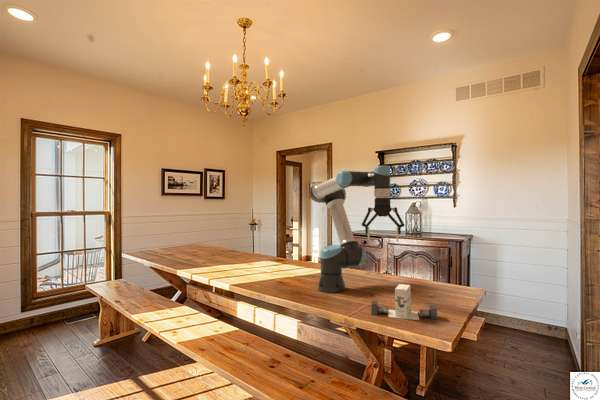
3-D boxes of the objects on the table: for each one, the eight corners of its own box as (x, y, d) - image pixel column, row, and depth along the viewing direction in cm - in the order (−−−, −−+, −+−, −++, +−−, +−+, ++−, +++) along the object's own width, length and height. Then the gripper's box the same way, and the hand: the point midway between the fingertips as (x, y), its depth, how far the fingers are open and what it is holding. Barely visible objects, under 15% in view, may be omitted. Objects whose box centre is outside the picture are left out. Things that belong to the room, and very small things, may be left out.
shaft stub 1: (371, 314, 135) (371, 304, 135) (372, 310, 140) (372, 300, 140) (387, 315, 133) (387, 305, 133) (387, 311, 138) (387, 301, 138)
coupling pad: (388, 317, 131) (388, 316, 131) (388, 310, 140) (388, 309, 140) (419, 320, 128) (419, 319, 128) (417, 312, 136) (417, 311, 136)
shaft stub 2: (420, 318, 130) (420, 307, 130) (419, 314, 134) (419, 303, 134) (437, 320, 128) (437, 309, 128) (435, 315, 133) (435, 305, 133)
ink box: (399, 310, 139) (399, 283, 139) (411, 312, 136) (410, 284, 136) (394, 316, 131) (394, 288, 131) (407, 318, 129) (406, 289, 129)
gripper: (355, 197, 155) (356, 241, 155) (409, 197, 148) (410, 242, 148) (357, 197, 162) (357, 239, 162) (408, 197, 155) (409, 240, 155)
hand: (382, 240), depth 155 cm, fingers open, 13 cm apart
